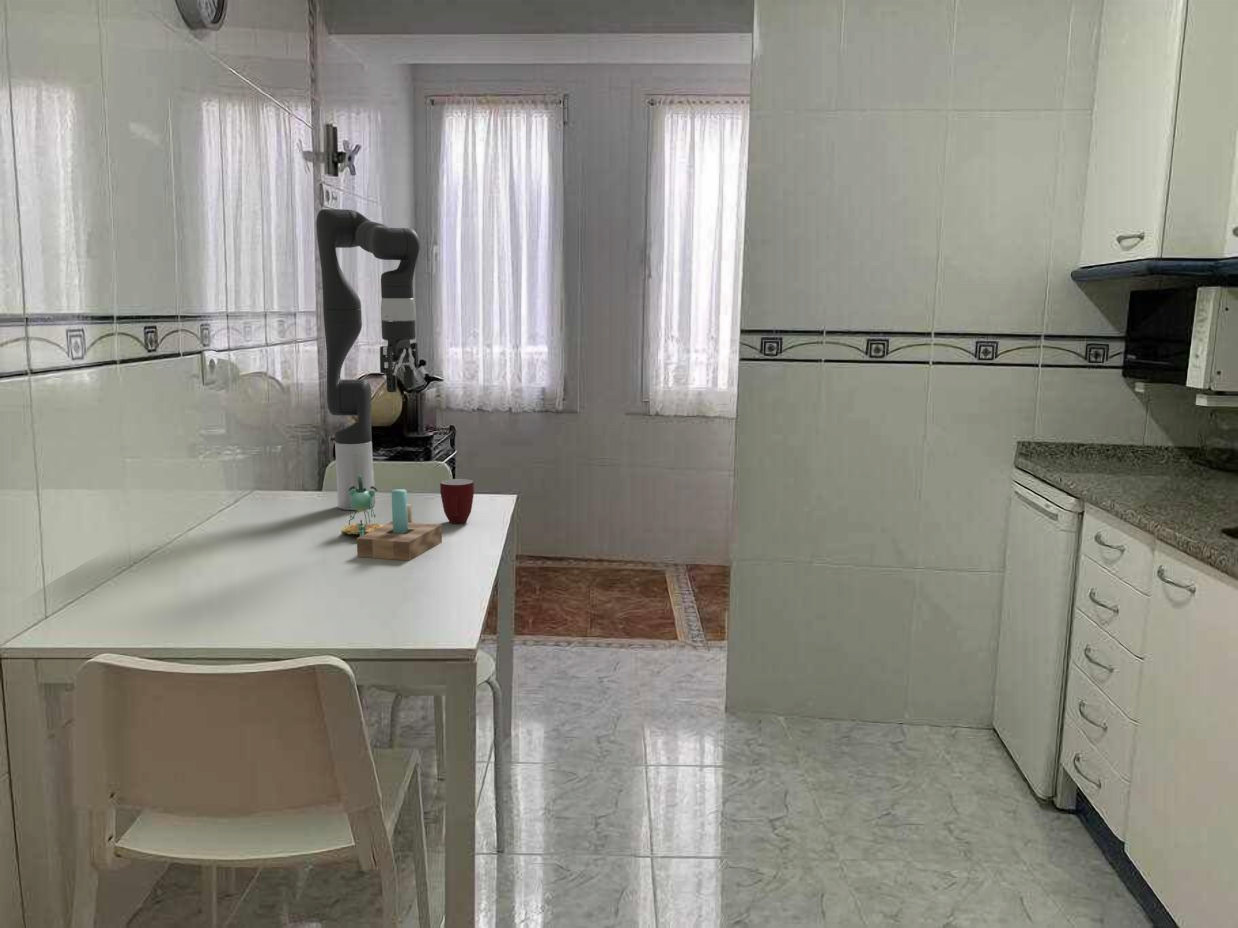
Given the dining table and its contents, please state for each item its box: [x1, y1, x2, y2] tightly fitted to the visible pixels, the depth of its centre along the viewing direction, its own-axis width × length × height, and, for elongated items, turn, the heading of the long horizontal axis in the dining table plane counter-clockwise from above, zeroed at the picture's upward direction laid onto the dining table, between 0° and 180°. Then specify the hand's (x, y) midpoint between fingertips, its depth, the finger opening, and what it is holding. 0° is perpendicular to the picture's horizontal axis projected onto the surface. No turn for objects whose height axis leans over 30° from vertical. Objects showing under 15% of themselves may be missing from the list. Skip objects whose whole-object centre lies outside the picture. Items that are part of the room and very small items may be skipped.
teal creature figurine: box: [341, 475, 383, 540], centre depth 224 cm, size 10×18×15 cm, turn 178°
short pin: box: [407, 503, 413, 523], centre depth 223 cm, size 3×3×7 cm
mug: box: [439, 478, 475, 525], centre depth 234 cm, size 11×8×10 cm
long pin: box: [390, 488, 408, 535], centre depth 210 cm, size 3×3×13 cm
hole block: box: [356, 520, 443, 562], centre depth 211 cm, size 16×12×4 cm
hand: (400, 389), depth 222 cm, fingers open, 8 cm apart
